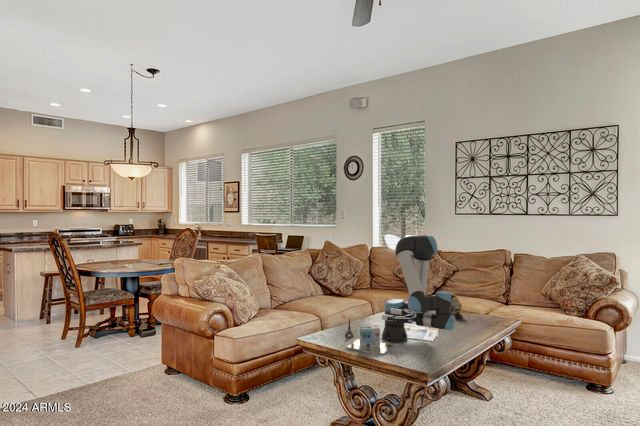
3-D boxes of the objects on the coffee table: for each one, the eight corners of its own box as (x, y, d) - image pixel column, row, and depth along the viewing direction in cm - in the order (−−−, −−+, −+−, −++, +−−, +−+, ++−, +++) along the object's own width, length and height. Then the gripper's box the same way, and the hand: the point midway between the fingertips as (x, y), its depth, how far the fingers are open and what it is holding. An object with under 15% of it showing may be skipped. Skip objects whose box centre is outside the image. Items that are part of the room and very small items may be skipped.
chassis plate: (357, 341, 258) (357, 335, 258) (393, 346, 248) (393, 341, 247) (346, 349, 244) (346, 343, 244) (383, 355, 234) (383, 349, 233)
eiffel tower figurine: (364, 338, 266) (364, 316, 266) (354, 341, 259) (354, 319, 258) (346, 333, 276) (346, 312, 276) (335, 336, 269) (335, 315, 269)
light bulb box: (361, 348, 242) (361, 328, 242) (359, 344, 249) (359, 325, 249) (380, 347, 243) (380, 328, 243) (377, 343, 250) (377, 324, 250)
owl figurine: (435, 314, 319) (435, 291, 319) (446, 312, 326) (446, 290, 326) (456, 320, 304) (456, 295, 304) (466, 317, 311) (466, 293, 311)
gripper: (417, 332, 219) (378, 326, 229) (430, 320, 241) (394, 314, 251) (417, 318, 219) (378, 312, 229) (430, 306, 241) (394, 301, 251)
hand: (386, 313), depth 240 cm, fingers open, 13 cm apart
